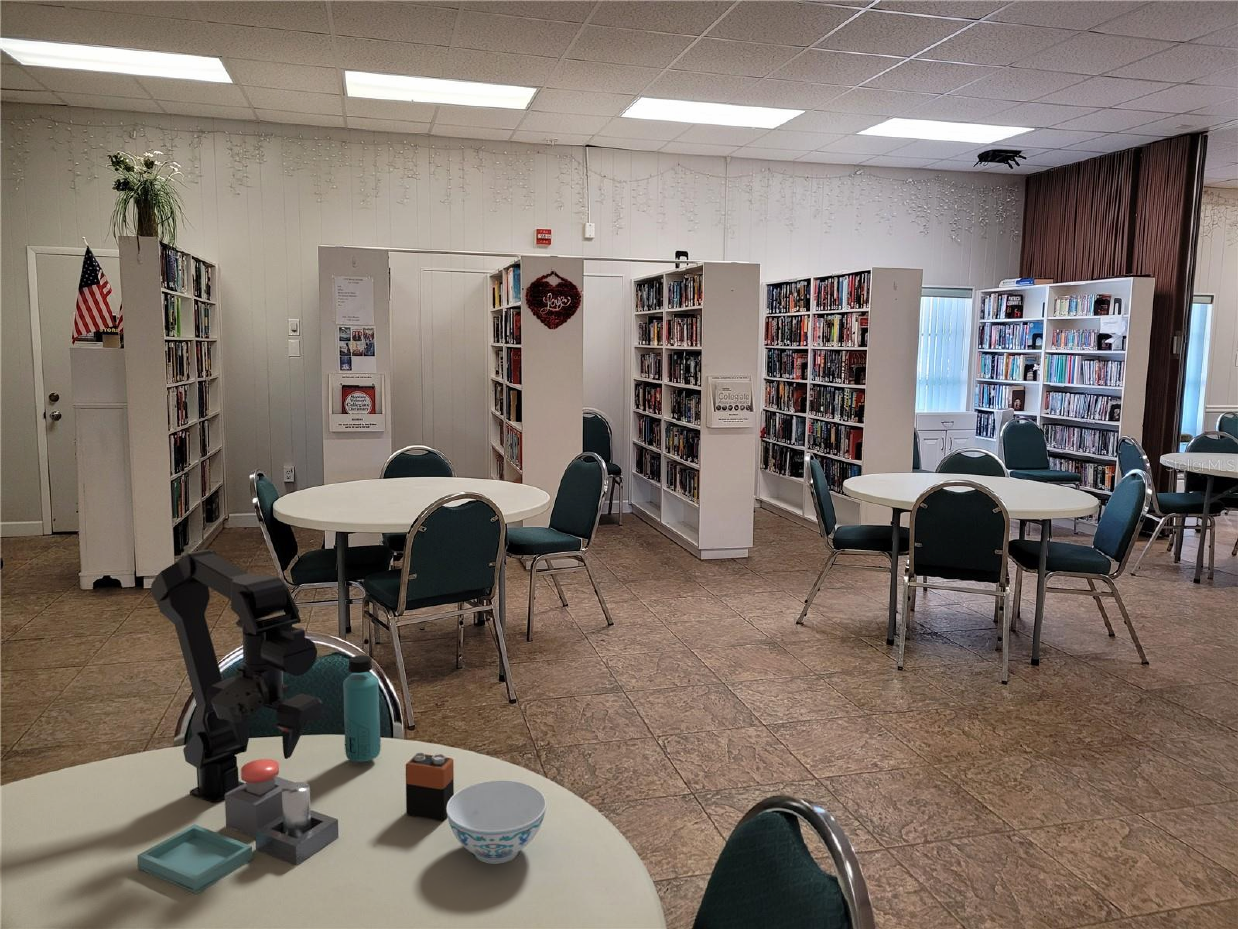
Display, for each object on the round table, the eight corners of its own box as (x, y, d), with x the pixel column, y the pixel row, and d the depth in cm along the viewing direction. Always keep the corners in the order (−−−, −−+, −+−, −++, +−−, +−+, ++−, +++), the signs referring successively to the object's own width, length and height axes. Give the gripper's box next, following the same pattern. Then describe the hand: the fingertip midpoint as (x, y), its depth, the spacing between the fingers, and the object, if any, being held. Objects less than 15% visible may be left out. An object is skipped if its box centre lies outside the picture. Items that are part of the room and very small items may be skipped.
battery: (443, 822, 145) (442, 764, 143) (405, 816, 146) (404, 758, 145) (454, 809, 149) (454, 752, 147) (417, 803, 151) (417, 746, 149)
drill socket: (255, 849, 136) (255, 831, 136) (298, 823, 144) (298, 805, 143) (296, 865, 132) (295, 846, 132) (338, 837, 140) (338, 819, 139)
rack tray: (138, 868, 131) (137, 855, 131) (195, 836, 139) (194, 824, 139) (196, 893, 125) (195, 880, 125) (252, 858, 134) (252, 846, 133)
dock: (226, 826, 142) (224, 794, 142) (266, 803, 149) (265, 772, 149) (257, 838, 139) (255, 805, 138) (297, 814, 146) (296, 782, 145)
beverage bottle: (388, 757, 167) (386, 653, 164) (367, 773, 160) (365, 666, 158) (358, 751, 169) (356, 649, 166) (336, 766, 163) (333, 661, 160)
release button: (234, 793, 142) (233, 770, 142) (262, 778, 147) (261, 756, 147) (259, 801, 140) (258, 779, 139) (287, 786, 145) (286, 764, 144)
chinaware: (520, 890, 128) (521, 839, 126) (428, 868, 132) (427, 819, 131) (560, 835, 142) (561, 789, 141) (475, 817, 146) (475, 773, 145)
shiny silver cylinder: (278, 846, 137) (276, 791, 136) (298, 833, 141) (296, 780, 139) (297, 853, 135) (295, 797, 134) (317, 840, 139) (315, 786, 138)
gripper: (175, 664, 136) (179, 760, 139) (271, 688, 129) (273, 788, 132) (232, 641, 146) (235, 731, 149) (324, 662, 139) (325, 756, 142)
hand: (265, 751), depth 142 cm, fingers open, 9 cm apart
